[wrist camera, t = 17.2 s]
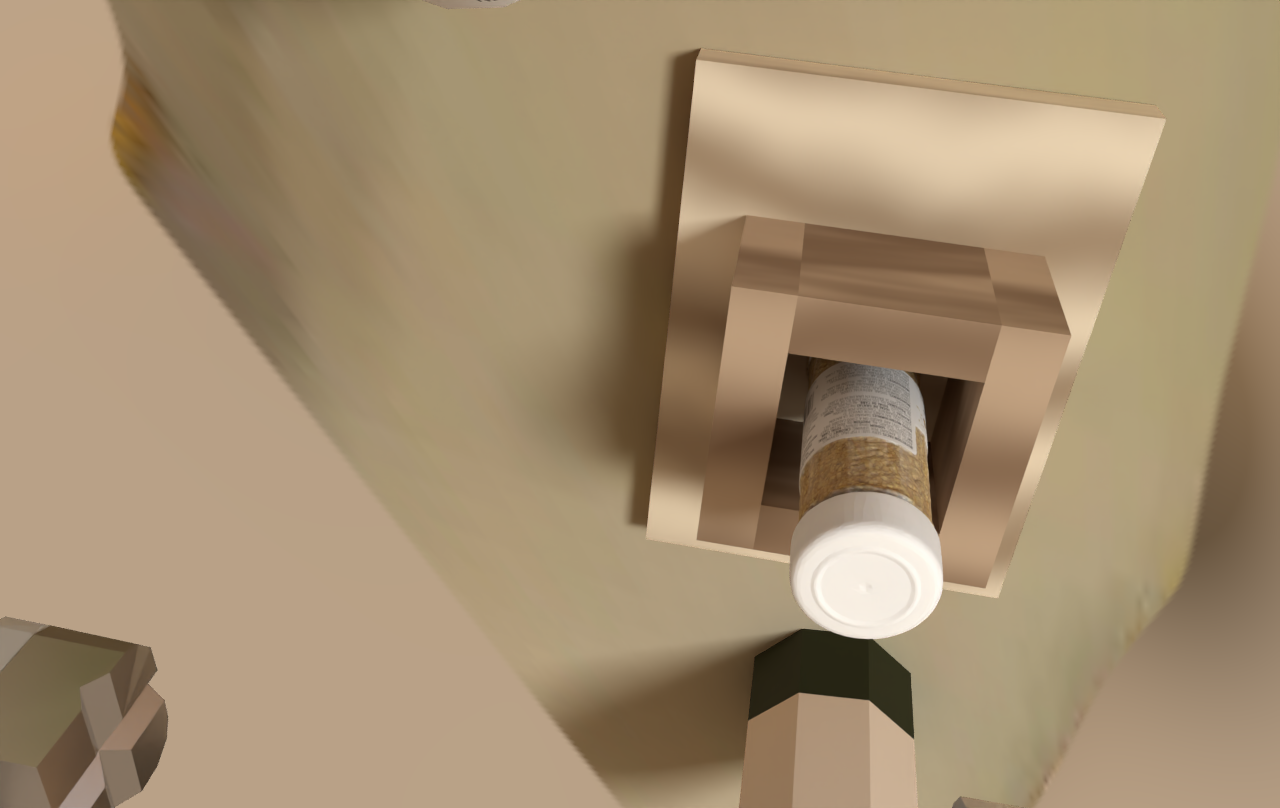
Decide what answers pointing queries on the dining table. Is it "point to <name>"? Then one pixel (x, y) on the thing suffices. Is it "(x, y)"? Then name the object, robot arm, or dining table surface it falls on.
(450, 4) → the supplement can
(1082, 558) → the dining table surface
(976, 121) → the holder board
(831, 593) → the sprinkles bottle
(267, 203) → the dining table surface
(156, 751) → the robot arm
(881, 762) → the wine bottle
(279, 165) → the dining table surface
